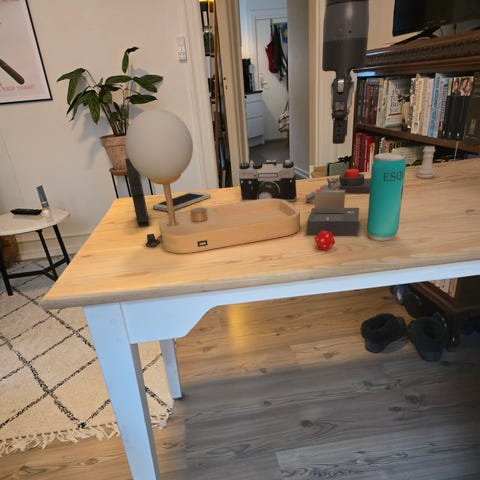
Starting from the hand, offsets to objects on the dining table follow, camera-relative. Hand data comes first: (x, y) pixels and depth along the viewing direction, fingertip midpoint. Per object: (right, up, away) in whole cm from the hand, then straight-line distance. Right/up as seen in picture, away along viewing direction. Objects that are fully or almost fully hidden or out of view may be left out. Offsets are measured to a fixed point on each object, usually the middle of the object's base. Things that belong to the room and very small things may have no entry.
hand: (339, 140), depth 78 cm
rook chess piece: (+34, +6, +38) cm, 51 cm away
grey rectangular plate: (0, -12, +8) cm, 14 cm away
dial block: (+1, -15, +8) cm, 17 cm away
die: (-3, -21, -1) cm, 21 cm away
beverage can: (+8, -18, +2) cm, 20 cm away
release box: (+13, +1, +33) cm, 36 cm away
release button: (+11, +4, +32) cm, 34 cm away
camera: (-12, -4, +29) cm, 31 cm away
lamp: (-23, -16, +11) cm, 30 cm away
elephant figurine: (+2, -5, +25) cm, 25 cm away
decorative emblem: (-43, -10, +24) cm, 50 cm away
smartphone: (-35, -2, +36) cm, 50 cm away
